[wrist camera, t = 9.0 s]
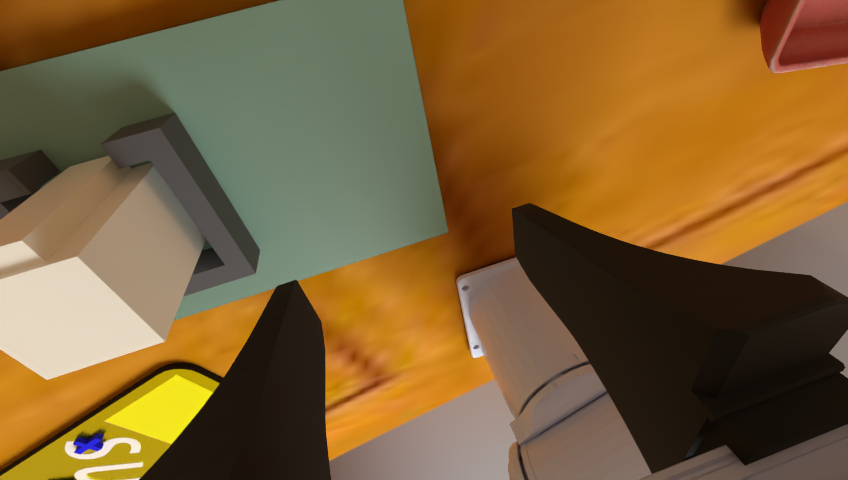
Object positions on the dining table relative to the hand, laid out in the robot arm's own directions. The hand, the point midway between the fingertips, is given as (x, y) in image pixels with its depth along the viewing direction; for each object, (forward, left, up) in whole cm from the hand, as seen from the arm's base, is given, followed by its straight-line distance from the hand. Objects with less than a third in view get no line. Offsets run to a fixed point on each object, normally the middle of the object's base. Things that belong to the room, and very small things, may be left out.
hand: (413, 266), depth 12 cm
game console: (-17, +23, -10) cm, 30 cm away
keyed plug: (+1, +11, -8) cm, 14 cm away
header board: (+1, +6, -9) cm, 11 cm away
